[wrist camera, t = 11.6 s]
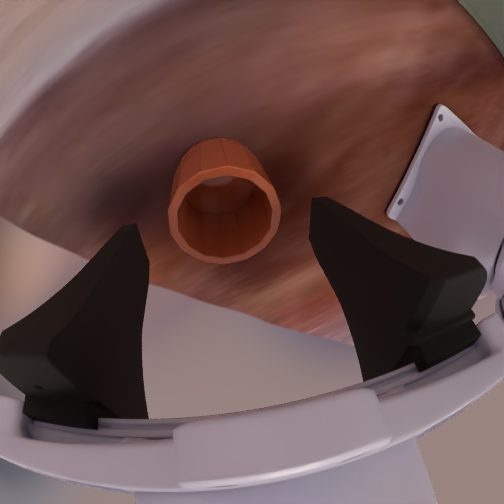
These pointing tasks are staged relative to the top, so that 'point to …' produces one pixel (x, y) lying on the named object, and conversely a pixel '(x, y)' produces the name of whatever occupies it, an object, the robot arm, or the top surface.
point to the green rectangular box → (488, 18)
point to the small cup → (222, 203)
